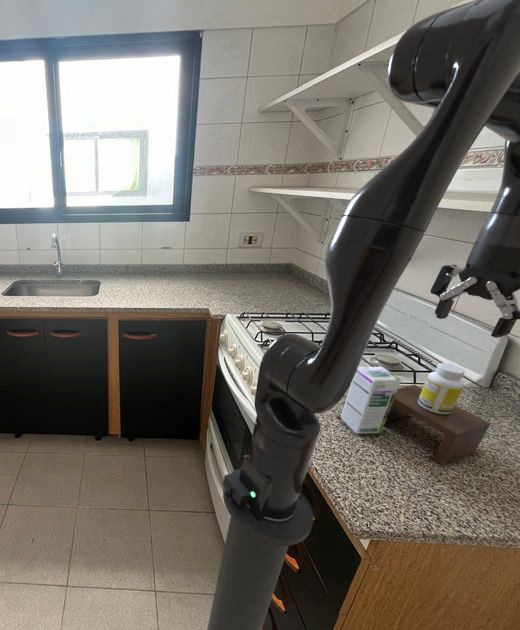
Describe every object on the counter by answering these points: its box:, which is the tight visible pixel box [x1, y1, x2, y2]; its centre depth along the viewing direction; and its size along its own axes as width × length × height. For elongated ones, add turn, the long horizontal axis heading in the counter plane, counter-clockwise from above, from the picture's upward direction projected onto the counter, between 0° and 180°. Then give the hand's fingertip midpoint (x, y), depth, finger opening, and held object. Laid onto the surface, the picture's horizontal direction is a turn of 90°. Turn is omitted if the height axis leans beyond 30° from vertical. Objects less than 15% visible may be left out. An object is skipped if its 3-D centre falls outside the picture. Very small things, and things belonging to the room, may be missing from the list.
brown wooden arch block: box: [385, 384, 492, 466], centre depth 75 cm, size 10×14×8 cm
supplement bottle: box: [418, 362, 466, 414], centre depth 72 cm, size 5×5×10 cm
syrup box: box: [340, 365, 402, 435], centre depth 77 cm, size 6×6×14 cm
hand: (467, 326), depth 65 cm, fingers open, 8 cm apart
